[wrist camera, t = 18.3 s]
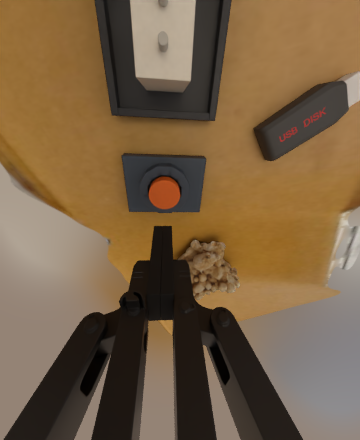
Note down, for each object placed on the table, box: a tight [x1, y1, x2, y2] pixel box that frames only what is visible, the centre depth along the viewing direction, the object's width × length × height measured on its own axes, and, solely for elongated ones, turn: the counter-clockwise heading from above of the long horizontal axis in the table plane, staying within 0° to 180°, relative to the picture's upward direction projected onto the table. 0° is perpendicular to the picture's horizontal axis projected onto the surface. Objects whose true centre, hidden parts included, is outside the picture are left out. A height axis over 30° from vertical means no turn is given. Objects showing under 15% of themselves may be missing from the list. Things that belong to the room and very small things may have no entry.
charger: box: [130, 0, 196, 93], centre depth 14 cm, size 4×6×9 cm
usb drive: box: [254, 71, 360, 161], centre depth 22 cm, size 5×12×3 cm, turn 124°
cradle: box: [95, 0, 231, 121], centre depth 18 cm, size 13×12×2 cm
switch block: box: [122, 153, 206, 213], centre depth 26 cm, size 12×9×4 cm
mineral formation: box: [178, 240, 240, 300], centre depth 34 cm, size 8×13×15 cm
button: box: [149, 176, 180, 209], centre depth 24 cm, size 4×4×2 cm
